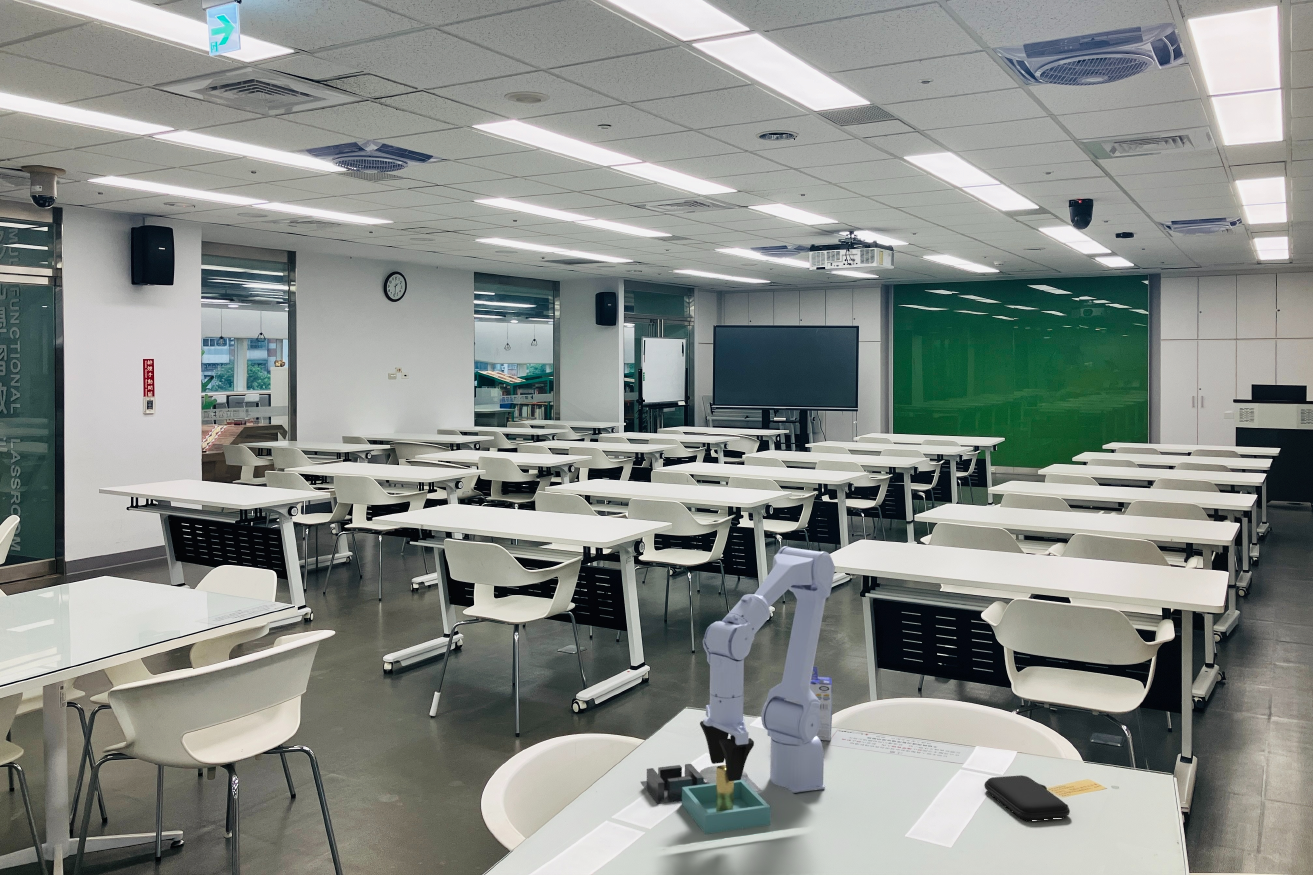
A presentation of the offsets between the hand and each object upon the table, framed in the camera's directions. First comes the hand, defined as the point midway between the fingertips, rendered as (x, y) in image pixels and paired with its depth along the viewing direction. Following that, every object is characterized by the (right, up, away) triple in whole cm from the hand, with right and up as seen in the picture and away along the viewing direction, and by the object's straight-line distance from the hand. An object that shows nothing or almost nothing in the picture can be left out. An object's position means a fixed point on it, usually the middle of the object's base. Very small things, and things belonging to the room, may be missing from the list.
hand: (725, 770), depth 164 cm
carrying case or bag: (+55, -9, +8) cm, 56 cm away
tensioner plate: (-4, -8, +12) cm, 15 cm away
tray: (0, -8, 0) cm, 9 cm away
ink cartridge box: (+21, -7, +41) cm, 46 cm away
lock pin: (0, -8, 0) cm, 8 cm away
